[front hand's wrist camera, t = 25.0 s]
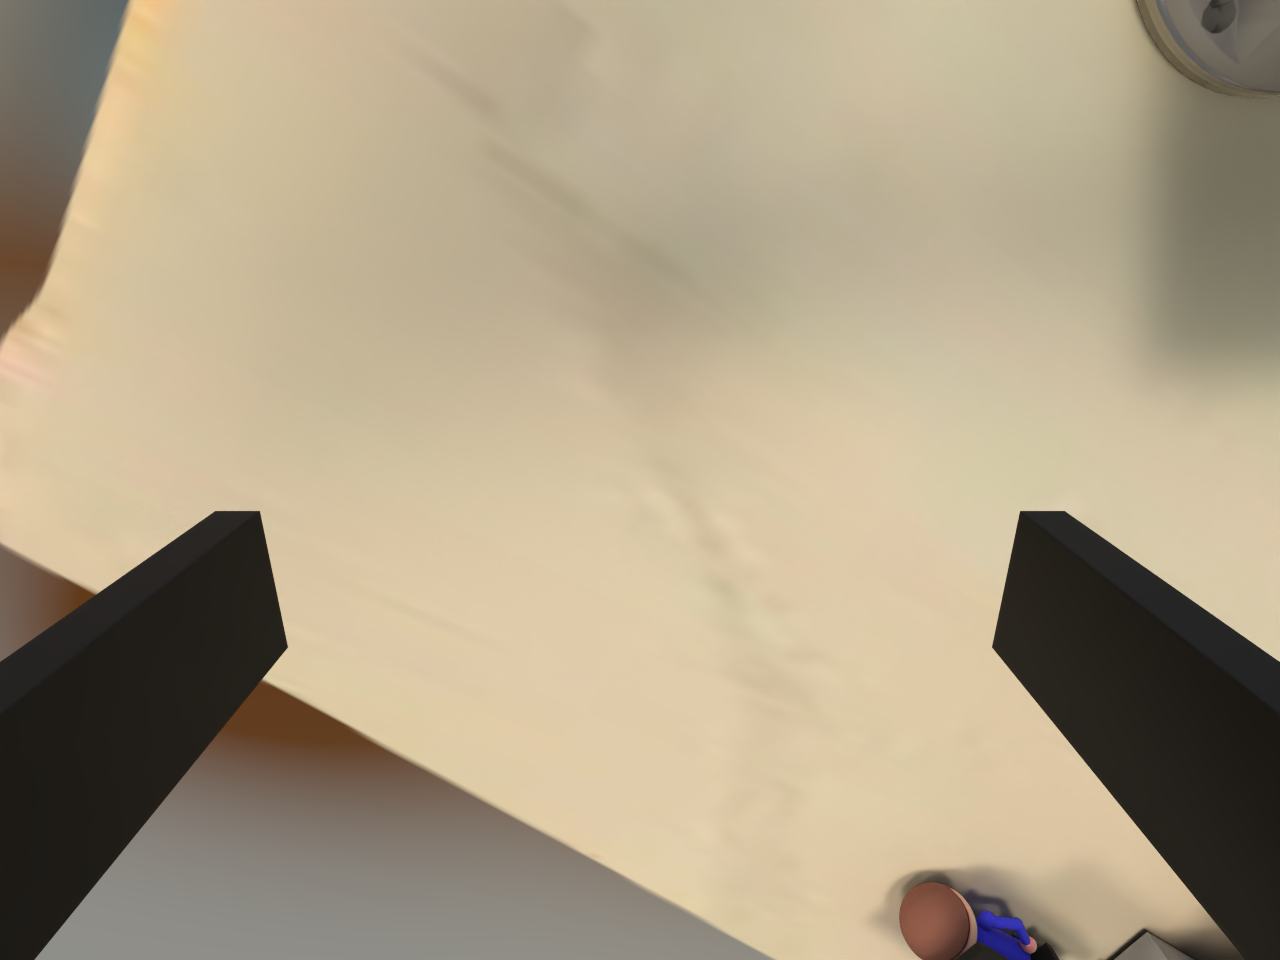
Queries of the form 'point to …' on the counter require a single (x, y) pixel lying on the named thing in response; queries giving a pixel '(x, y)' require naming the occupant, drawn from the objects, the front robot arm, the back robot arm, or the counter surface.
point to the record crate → (1151, 950)
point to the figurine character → (962, 929)
